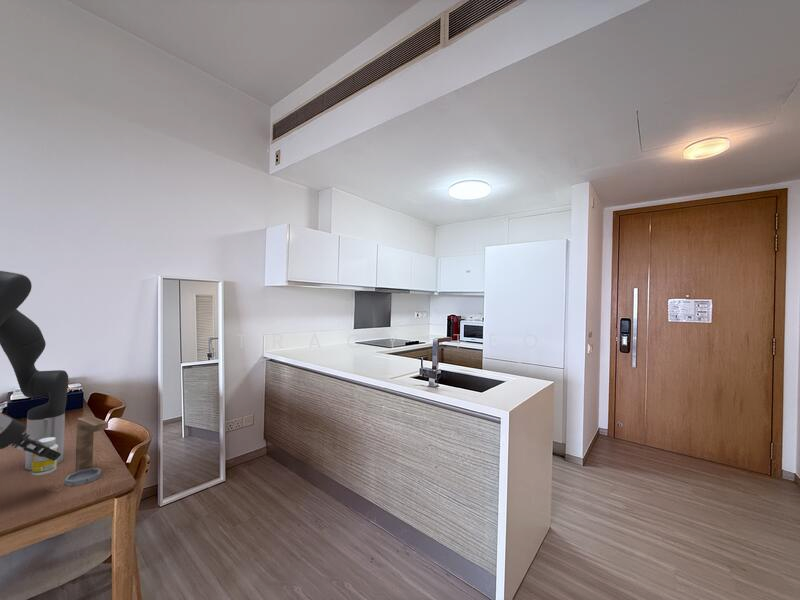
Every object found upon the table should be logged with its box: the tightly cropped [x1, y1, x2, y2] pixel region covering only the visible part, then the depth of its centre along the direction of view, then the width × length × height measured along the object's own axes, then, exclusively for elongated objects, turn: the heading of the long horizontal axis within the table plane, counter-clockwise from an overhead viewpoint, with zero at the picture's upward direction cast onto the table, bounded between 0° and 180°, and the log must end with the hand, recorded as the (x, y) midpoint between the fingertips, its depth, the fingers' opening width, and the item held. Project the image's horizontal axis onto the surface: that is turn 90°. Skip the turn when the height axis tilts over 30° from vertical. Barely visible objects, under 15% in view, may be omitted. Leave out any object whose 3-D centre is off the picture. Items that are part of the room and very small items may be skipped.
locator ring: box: [64, 467, 102, 487], centre depth 108 cm, size 8×8×2 cm
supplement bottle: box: [31, 437, 58, 476], centre depth 100 cm, size 5×5×10 cm
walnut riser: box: [74, 415, 109, 472], centre depth 111 cm, size 4×13×18 cm, turn 63°
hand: (53, 454), depth 101 cm, fingers closed on supplement bottle, 5 cm apart
